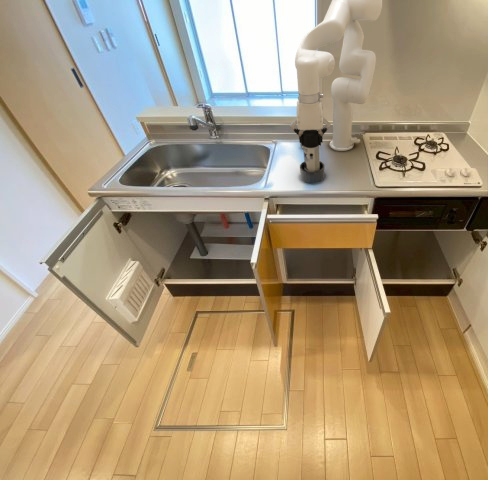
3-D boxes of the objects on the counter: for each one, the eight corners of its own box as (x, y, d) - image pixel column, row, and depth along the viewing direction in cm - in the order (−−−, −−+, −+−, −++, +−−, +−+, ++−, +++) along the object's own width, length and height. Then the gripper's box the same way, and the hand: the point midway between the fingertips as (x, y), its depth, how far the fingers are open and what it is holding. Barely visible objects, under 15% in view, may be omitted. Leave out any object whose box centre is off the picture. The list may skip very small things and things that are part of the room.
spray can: (303, 173, 121) (299, 130, 107) (316, 170, 123) (315, 127, 108) (308, 181, 117) (305, 137, 102) (322, 177, 118) (321, 134, 104)
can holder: (324, 170, 124) (324, 159, 120) (324, 183, 116) (324, 172, 112) (301, 170, 124) (300, 160, 120) (300, 184, 117) (299, 173, 113)
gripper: (332, 93, 99) (331, 139, 111) (286, 94, 99) (290, 140, 112) (333, 100, 93) (332, 148, 106) (284, 101, 94) (289, 149, 106)
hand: (311, 143), depth 109 cm, fingers closed on spray can, 6 cm apart
